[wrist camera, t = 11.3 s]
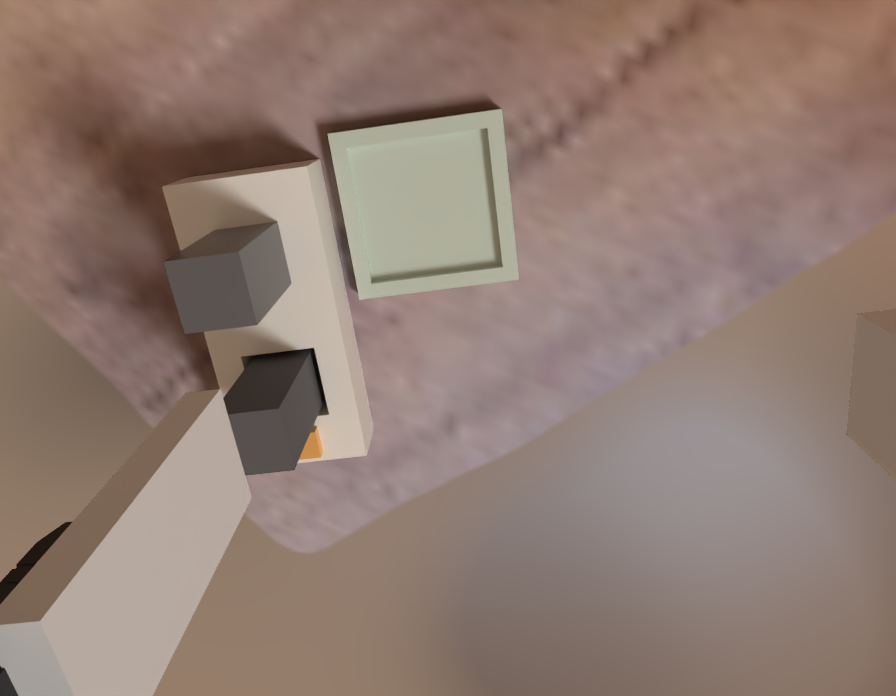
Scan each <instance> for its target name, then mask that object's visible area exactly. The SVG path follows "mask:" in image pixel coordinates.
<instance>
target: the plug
mask: <svg viewBox="0 0 896 696" xmlns="http://www.w3.org/2000/svg"><path fill="white" fill-rule="evenodd" d="M223 400H224V403H225V407H226V410H227V414H228V417H229V421H230V424H231V428H232V431H233V435H234V438H235V442H236V445H237V449H238V452H239V456H240V459H241V463H242V466H243V469H244V473H245V475H254V474H263V473H272V472H281V471H291V470H295V467H296V465H297V463H298V460H299V458H300V456H301V453H302V451H303V449H304V446H305V444H306V442H307V439H308V437H309V435H310V432H311V430H312V428H313V425H314V423H315V421H316V418H317V416H318V414H319V411H320V409H321V407H322V404H323V402H324V400H325V394H324V390H323V385H322V381H321V376H320V372H319V367H318V363H317V359H316V354H315V350H314V348H308V349H300V350H291V351H283V352H275V353H267V354H258V355H255V356H254V357H253V359H252V360H251V361H250V363H249V364H248V365H247V367H246V368H245V369H244V371H243V372H242V373H241V375H240V376H239V377H238V379H237V380H236V381H235V383H234V384H233V386H232V387H231V388H230V390H229V391H228V392H227V394H226V395H225V396H224V398H223Z"/></svg>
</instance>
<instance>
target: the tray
mask: <svg viewBox="0 0 896 696" xmlns="http://www.w3.org/2000/svg"><path fill="white" fill-rule="evenodd" d="M328 139H329V144H330V150H331V155H332V160H333V165H334V170H335V176H336V181H337V186H338V191H339V196H340V201H341V207H342V212H343V217H344V222H345V227H346V232H347V238H348V243H349V248H350V253H351V258H352V263H353V269H354V274H355V279H356V284H357V289H358V294H359V300H360V299H368V298H376V297H384V296H392V295H400V294H408V293H416V292H424V291H432V290H440V289H448V288H456V287H464V286H472V285H480V284H488V283H496V282H504V281H512V280H519V274H518V264H517V255H516V245H515V235H514V225H513V215H512V205H511V196H510V186H509V176H508V166H507V156H506V146H505V137H504V127H503V117H502V109H501V108H499V109H492V110H485V111H478V112H471V113H464V114H457V115H450V116H443V117H437V118H430V119H423V120H416V121H409V122H402V123H395V124H388V125H381V126H374V127H367V128H360V129H353V130H346V131H339V132H332V133H328Z"/></svg>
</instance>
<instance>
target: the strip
mask: <svg viewBox="0 0 896 696" xmlns="http://www.w3.org/2000/svg"><path fill="white" fill-rule="evenodd" d="M162 189H163V193H164V196H165V199H166V203H167V206H168V210H169V213H170V217H171V220H172V224H173V227H174V231H175V234H176V238H177V241H178V245H179V248H180V252H178V253H176V254H175V255H173V256H172V257H170V258H168V259H167V260H165V261H163V263H164V267H165V270H166V273H167V277H168V280H169V283H170V287H171V290H172V293H173V297H174V300H175V304H176V307H177V310H178V314H179V317H180V320H181V324H182V327H183V330H184V334H190V333H198V332H204V335H205V339H206V342H207V346H208V349H209V353H210V356H211V360H212V363H213V367H214V370H215V374H216V377H217V381H218V384H219V388H220V389H221V393H222V396H223V398H224V396H225V395H226V394H227V392H228V391H229V390H230V388H231V387H232V386H233V384H234V383H235V381H236V380H237V379H238V377H239V376H240V375H241V373H242V372H243V371H244V369H245V368H246V367H247V365H248V364H249V363H250V361H251V360H252V359H253V357H254V356H255V355H258V354H267V353H275V352H283V351H291V350H300V349H308V348H314V350H315V354H316V359H317V363H318V367H319V372H320V376H321V381H322V385H323V390H324V394H325V400H324V402H323V404H322V407H321V409H320V411H319V414H318V416H317V418H316V421H315V423H314V425H313V428H312V430H311V432H310V435H309V437H308V439H307V442H306V444H305V446H304V449H303V451H302V453H301V456H300V458H299V460H298V463H303V462H313V461H322V460H331V459H340V458H349V457H358V456H367V453H368V449H369V445H370V441H371V437H372V433H373V429H374V427H373V422H372V417H371V412H370V407H369V402H368V397H367V392H366V387H365V382H364V377H363V372H362V367H361V362H360V357H359V352H358V347H357V342H356V337H355V332H354V327H353V322H352V317H351V312H350V307H349V302H348V297H347V292H346V287H345V282H344V277H343V272H342V267H341V262H340V257H339V252H338V247H337V242H336V237H335V232H334V227H333V222H332V217H331V212H330V207H329V202H328V197H327V192H326V187H325V182H324V177H323V172H322V167H321V162H320V159H315V160H307V161H300V162H293V163H286V164H279V165H272V166H265V167H258V168H251V169H244V170H236V171H229V172H222V173H215V174H208V175H201V176H194V177H187V178H184V179H181V180H178V181H176V182H173V183H170V184H168V185H165V186H162Z"/></svg>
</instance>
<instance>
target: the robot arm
mask: <svg viewBox="0 0 896 696" xmlns="http://www.w3.org/2000/svg"><path fill="white" fill-rule="evenodd" d="M846 435H848V436H849V437H850V438H851V439H852V440H853V441H854V442H855V443H856V444H857V445H858V446H860V448H861V449H863V450H864V451H865V452H866V453H867V454H868V455H869V456H870V457H871V458H872V459H873V460H874V461H875V462H876V463H878V464H879V465H880V466H881V467H882V468H883V469H884V470H885V471H886V472H887V473H888V474H889V475H890V476H892V477H893V478H894V479H895V480H896V309H891V310H883V311H875V312H866V313H857V322H856V333H855V344H854V356H853V366H852V377H851V388H850V400H849V411H848V422H847V434H846ZM251 498H252V497H251V494H250V490H249V487H248V483H247V480H246V476H245V473H244V469H243V466H242V463H241V459H240V456H239V452H238V449H237V445H236V442H235V438H234V435H233V431H232V428H231V424H230V421H229V417H228V414H227V410H226V407H225V403H224V400H223V396H222V393H221V389H215V390H206V391H198V392H189V393H185V394H184V395H183V397H182V398H181V399H180V400H179V401H178V402H177V403H176V405H175V406H174V407H173V408H172V409H171V410H170V411H169V413H168V414H167V415H166V416H165V417H164V418H163V419H162V421H161V422H160V423H159V424H158V425H157V426H156V427H155V429H154V430H153V431H152V432H151V433H150V434H149V435H148V436H147V438H146V439H145V440H144V441H143V442H142V444H141V445H140V446H139V447H138V448H137V449H136V450H135V451H134V453H133V454H132V455H131V456H130V457H129V458H128V459H127V461H126V462H125V463H124V464H123V465H122V466H121V467H120V468H119V470H118V471H117V472H116V473H115V474H114V475H113V476H112V478H111V479H110V480H109V481H108V482H107V483H106V484H105V486H104V487H103V488H102V489H101V490H100V491H99V492H98V494H97V495H96V496H95V497H94V498H93V499H92V500H91V502H90V503H89V504H88V505H87V506H86V507H85V508H84V510H83V511H82V512H81V513H80V514H79V515H78V516H77V518H76V519H75V520H74V521H73V522H65V523H64V524H62V525H61V526H60V527H58V528H57V529H55V530H54V531H52V532H51V533H50V534H48V535H47V536H45V537H44V538H42V539H41V540H40V541H38V542H37V543H36V544H35V545H34V546H33V547H32V548H31V549H30V551H28V553H27V554H26V555H25V556H24V557H23V558H22V559H21V560H20V561H19V562H18V564H17V568H16V569H12V570H11V571H10V572H9V573H8V575H7V576H6V577H5V578H4V579H3V580H2V581H1V582H0V696H153V694H154V692H155V690H156V687H157V686H158V683H159V682H160V680H161V678H162V676H163V673H164V671H165V670H166V667H167V665H168V663H169V662H170V660H171V658H172V656H173V654H174V652H175V650H176V648H177V646H178V644H179V642H180V640H181V638H182V636H183V634H184V632H185V630H186V628H187V626H188V624H189V622H190V620H191V617H192V616H193V614H194V612H195V610H196V608H197V606H198V604H199V602H200V600H201V598H202V596H203V594H204V592H205V590H206V588H207V586H208V584H209V582H210V580H211V577H212V576H213V574H214V572H215V570H216V568H217V565H218V564H219V562H220V560H221V558H222V556H223V554H224V552H225V550H226V548H227V545H228V544H229V542H230V540H231V538H232V536H233V534H234V532H235V530H236V528H237V526H238V524H239V522H240V520H241V518H242V516H243V514H244V512H245V510H246V508H247V506H248V504H249V502H250V500H251Z"/></svg>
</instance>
